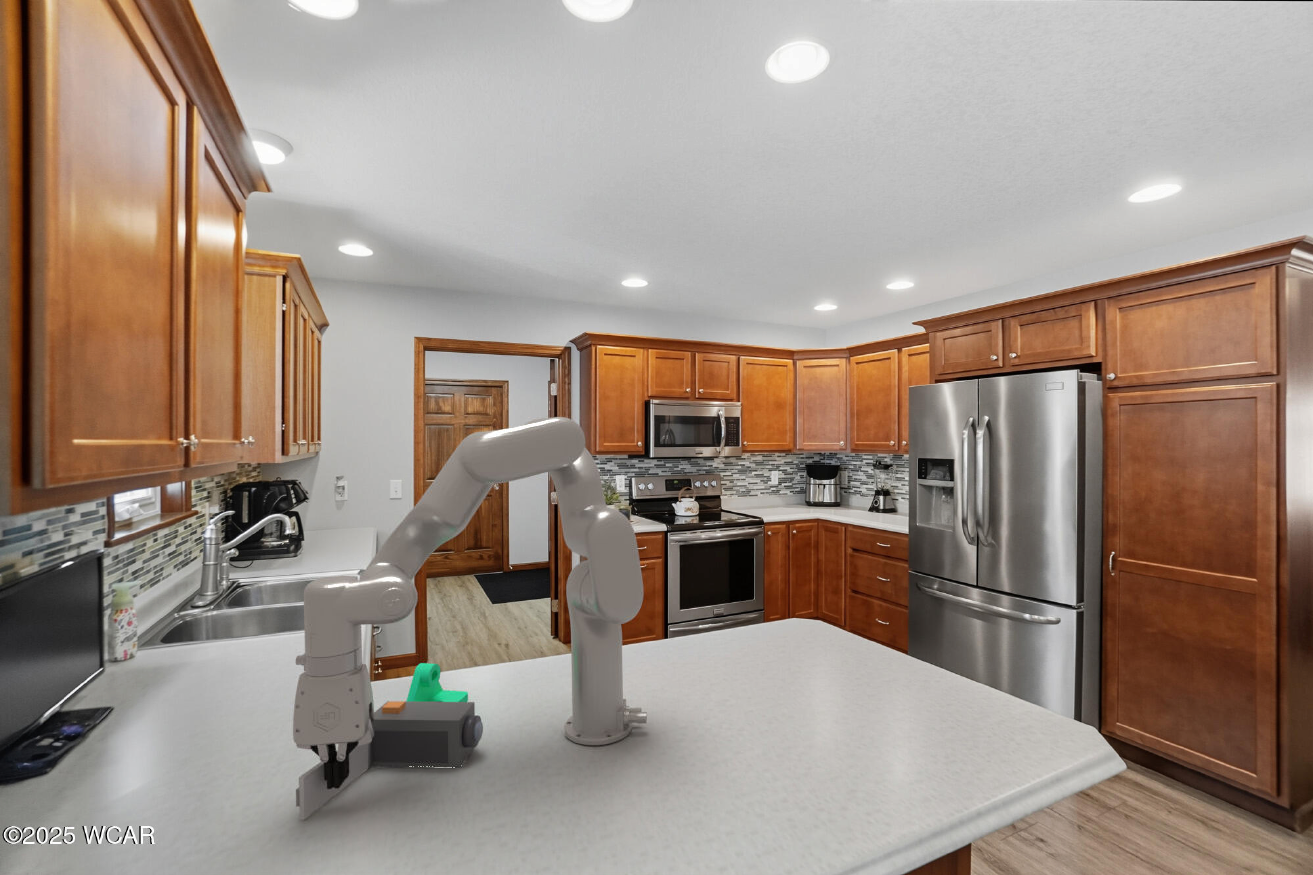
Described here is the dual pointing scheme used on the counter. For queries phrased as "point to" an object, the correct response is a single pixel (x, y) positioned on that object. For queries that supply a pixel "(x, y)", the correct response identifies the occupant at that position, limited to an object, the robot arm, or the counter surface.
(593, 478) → the robot arm
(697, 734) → the counter surface
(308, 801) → the door
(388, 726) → the camera body
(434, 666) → the camera mount
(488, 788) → the counter surface
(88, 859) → the counter surface
